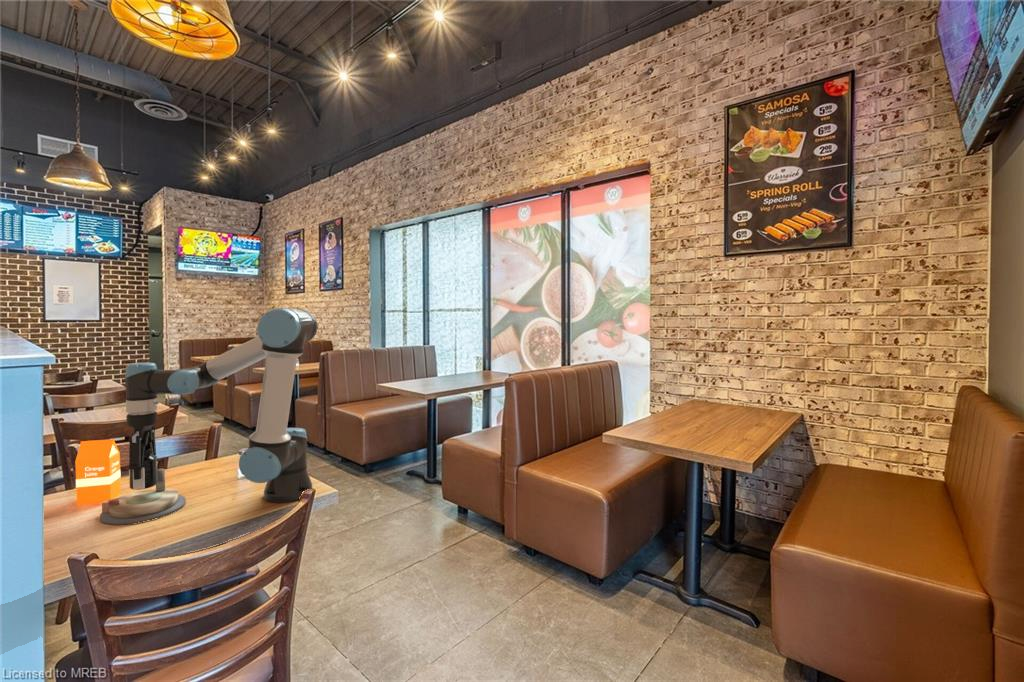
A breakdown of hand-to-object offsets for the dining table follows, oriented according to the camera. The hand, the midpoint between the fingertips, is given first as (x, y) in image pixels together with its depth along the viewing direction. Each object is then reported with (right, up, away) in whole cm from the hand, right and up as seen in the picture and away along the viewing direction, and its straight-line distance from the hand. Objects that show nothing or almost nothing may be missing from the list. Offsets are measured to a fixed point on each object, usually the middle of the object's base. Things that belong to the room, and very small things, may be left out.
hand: (143, 484), depth 142 cm
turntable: (0, -7, 0) cm, 7 cm away
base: (0, -8, 0) cm, 8 cm away
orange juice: (-21, -8, +8) cm, 24 cm away
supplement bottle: (0, -1, 0) cm, 1 cm away
